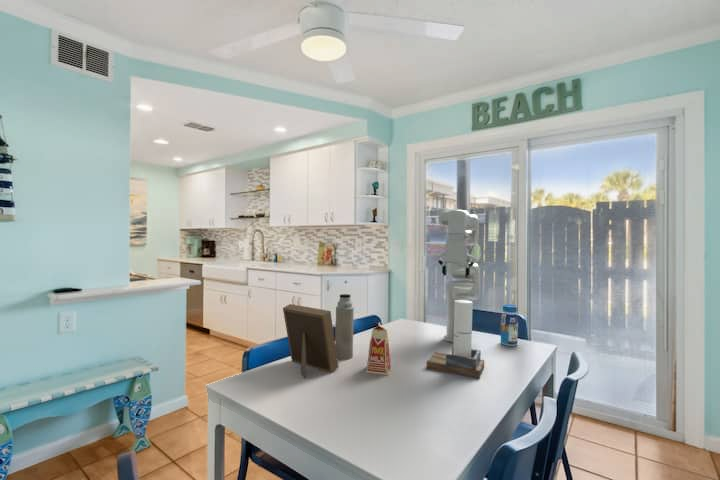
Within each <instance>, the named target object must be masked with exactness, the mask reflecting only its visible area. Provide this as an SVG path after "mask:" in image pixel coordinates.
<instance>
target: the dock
mask: <svg viewBox="0 0 720 480" xmlns="http://www.w3.org/2000/svg"><path fill="white" fill-rule="evenodd" d="M453 348H454V345H453V346H452V347H451V354H450V353H443V352H437V351H435V352H434V353H433V354H432V355H431V356H430V357H429V358H428V359H427V361H426V370H432V371H436V372H442V373H447V374H454V375H459V376H464V377H468V378H474V379H480V378H481V376H482V373H483V371H484V369H485V359H481V350H479V349H473V348H471V358H469V357H463V356H457V355H453Z"/></svg>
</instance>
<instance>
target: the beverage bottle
mask: <svg viewBox="0 0 720 480" xmlns="http://www.w3.org/2000/svg"><path fill="white" fill-rule="evenodd" d="M502 312H503V313H502V314H501V316H500V317H501V318H500V319H501V321H500V344H502V345H504V346H511V347H516V346H517V345H518V333H519V322H518V321H519V317H518V315H517V314H516V313H517V312H518V307H517V305H516V304H515V305H514V304H502Z"/></svg>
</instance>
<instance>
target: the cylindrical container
mask: <svg viewBox="0 0 720 480" xmlns="http://www.w3.org/2000/svg"><path fill="white" fill-rule="evenodd" d="M473 303H474V302H473V300H468V299H461V300H455V310H454V343H453V346H454V348H453V355H457V356H463V357H469V358H471V349H472V340H473V338H472V337H473V336H472V335H473V330H472V329H473V305H474V304H473Z"/></svg>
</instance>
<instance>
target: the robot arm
mask: <svg viewBox="0 0 720 480" xmlns="http://www.w3.org/2000/svg"><path fill="white" fill-rule="evenodd" d="M438 223H439V225H440V227H442V228H447V232H446V234H445V244H444V252H443V253H441V254H439V255H437V256H436V260H437V263H438V264H439V265H440V266H441V269H442V270H441V274H442V275H443V276H444V277H445V276H446V275H447V266H446V265H447V264H449V277H450V278H451V279H453V280H450V281H448V282H447V283H446V284H445V292H446V294H445V295H446V334H445V335H444V336H443V337H442V339H443V340H444V341H446V342H448V343H453V344H454V310H455V300H468V301H476V300H478V299H480V297H481V269H480V266H479V264H478V263H476V261H477V258H476V257H475V256H473V255H471V254H469V246H470V247H472V246H474V247H475V246H477V245H478V244H479V238H480V237H479V233H480V221H479V217H478V216H477V215H476V214H470V213H469V211H467V210H463V209H446V210H444V209H443V210H440V211H439V214H438ZM441 258H443V261H442V259H441ZM469 259H471V262H469Z"/></svg>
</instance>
